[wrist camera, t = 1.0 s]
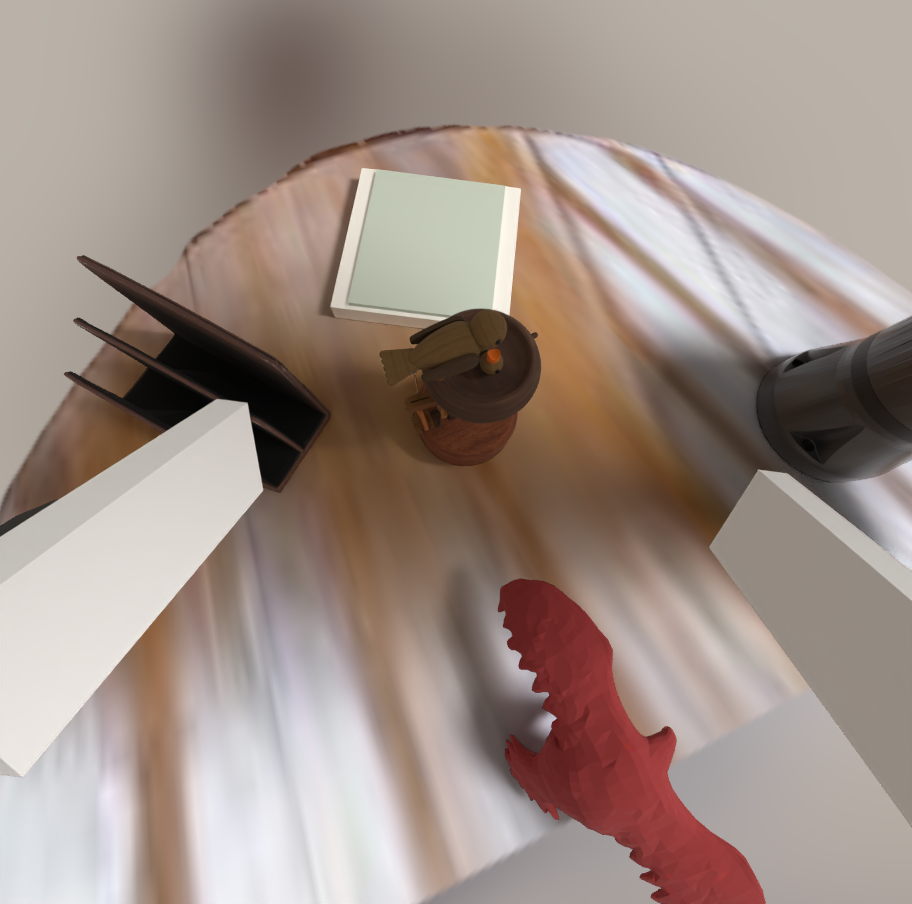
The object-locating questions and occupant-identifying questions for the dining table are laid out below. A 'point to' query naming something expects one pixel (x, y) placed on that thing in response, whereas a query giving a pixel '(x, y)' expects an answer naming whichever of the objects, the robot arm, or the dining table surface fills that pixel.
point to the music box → (468, 382)
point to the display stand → (426, 249)
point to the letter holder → (212, 380)
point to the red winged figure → (610, 756)
